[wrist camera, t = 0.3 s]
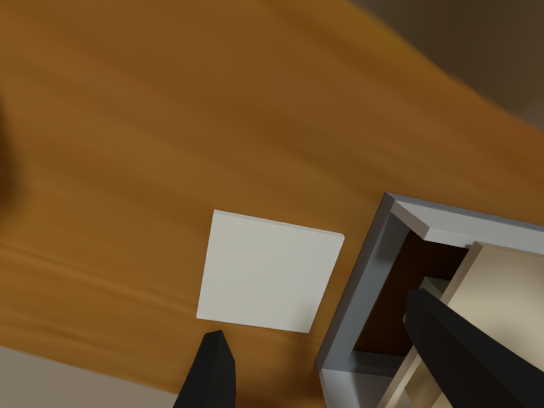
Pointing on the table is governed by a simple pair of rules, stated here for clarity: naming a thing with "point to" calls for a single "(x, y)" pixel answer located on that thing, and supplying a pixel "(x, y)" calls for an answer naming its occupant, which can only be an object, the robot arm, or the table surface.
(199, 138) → the table surface
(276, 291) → the tile
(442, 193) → the table surface
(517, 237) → the grey shallow open box
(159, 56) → the table surface
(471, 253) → the lid
